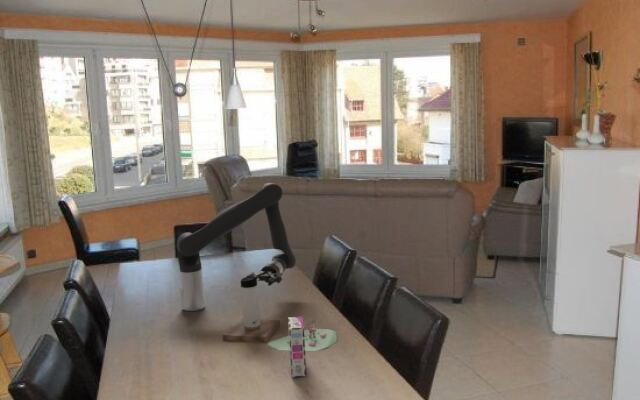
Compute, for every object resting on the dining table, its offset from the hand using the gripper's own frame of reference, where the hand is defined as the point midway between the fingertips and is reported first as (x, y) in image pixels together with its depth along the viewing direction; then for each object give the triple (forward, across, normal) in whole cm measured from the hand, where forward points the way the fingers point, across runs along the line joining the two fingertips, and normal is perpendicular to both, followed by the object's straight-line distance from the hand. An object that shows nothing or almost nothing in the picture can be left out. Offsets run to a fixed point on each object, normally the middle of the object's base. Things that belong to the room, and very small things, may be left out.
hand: (258, 283), depth 235 cm
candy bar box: (+40, +27, +16) cm, 51 cm away
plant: (+17, +22, +17) cm, 33 cm away
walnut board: (+11, 0, +16) cm, 20 cm away
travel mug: (+11, +1, +14) cm, 18 cm away
